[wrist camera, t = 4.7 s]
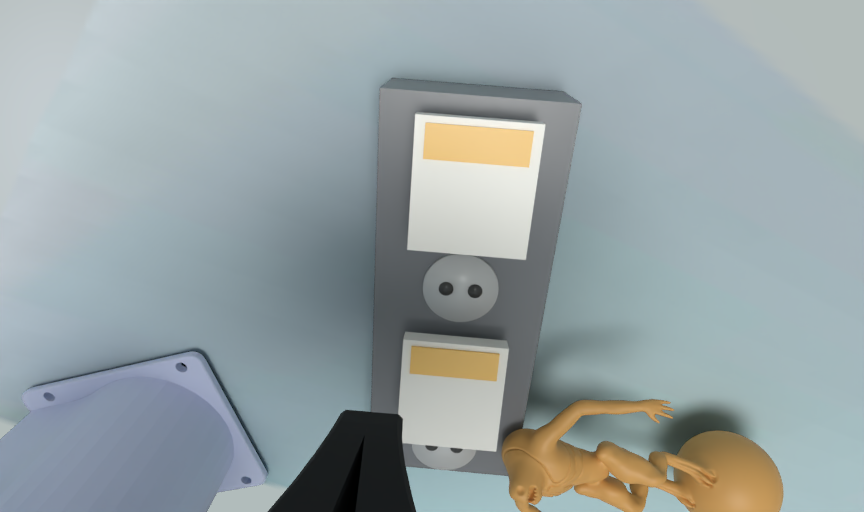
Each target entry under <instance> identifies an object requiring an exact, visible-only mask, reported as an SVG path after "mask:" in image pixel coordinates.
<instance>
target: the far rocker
mask: <svg viewBox="0 0 864 512" xmlns="http://www.w3.org/2000/svg"><path fill="white" fill-rule="evenodd" d="M508 353H509V347H508V343H507V341H506V340H495V339H483V338H472V337H461V336H449V335H438V334H427V333H415V332H405V334H404V339H403V351H402V366H401V380H400V395H399V409H398V414H399V415H400V416H401V417H402V418H403V428H402V443H407V444H418V445H429V446H439V447H450V448H461V449H472V450H483V451H493V452H496V449H497V441H498V433H499V425H500V417H501V409H502V401H503V393H504V385H505V377H506V369H507V361H508Z"/></svg>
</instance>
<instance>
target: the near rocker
mask: <svg viewBox="0 0 864 512" xmlns="http://www.w3.org/2000/svg"><path fill="white" fill-rule="evenodd" d="M545 125H546V124H544V123H543V122H537V121H524V120H512V119H499V118H487V117H474V116H462V115H449V114H437V113H424V112H417V113H416V114H415V127H414V144H413V160H412V177H411V194H410V211H409V227H408V244H407V250H415V251H426V252H438V253H450V254H461V255H473V256H485V257H497V258H508V259H520V260H526V255H527V248H528V241H529V234H530V228H531V221H532V214H533V207H534V200H535V193H536V187H537V180H538V173H539V166H540V159H541V152H542V146H543V139H544V132H545Z"/></svg>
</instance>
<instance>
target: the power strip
mask: <svg viewBox="0 0 864 512" xmlns="http://www.w3.org/2000/svg"><path fill="white" fill-rule="evenodd" d="M581 107H582V104H581V103H580V102H578V101H577V100H576V99H574V98H573V97H571V96H570V95H568V94H567V93H565V92H563V91H550V90H537V89H524V88H512V87H499V86H486V85H474V84H461V83H448V82H436V81H423V80H410V79H398V78H392V79H390V80H389V81H388V82H387V83H385V84H384V85H383V86H381V87H380V97H379V134H378V172H377V209H376V246H375V284H374V321H373V359H372V396H371V412H378V413H390V414H398V409H399V395H400V380H401V366H402V351H403V339H404V334H405V332H415V333H427V334H438V335H449V336H461V337H472V338H483V339H495V340H506V341H507V343H508V347H509V353H508V361H507V369H506V377H505V385H504V393H503V401H502V409H501V417H500V425H499V433H498V441H497V449H496V452H493V451H483V450H472V449H461V448H450V447H439V446H429V445H418V444H407V443H403V452H404V460H405V466H407V467H418V468H428V469H439V470H450V471H460V472H471V473H482V474H493V475H503V476H509V475H508V472H507V470H506V467H505V464H504V462H503V459H502V455H501V452H502V446H503V442H504V440H505V438H506V437H507V436H508V435H509V434H511V433H512V432H514V431H516V430H519V429H522V428H523V423H524V417H525V412H526V406H527V401H528V395H529V390H530V384H531V379H532V374H533V368H534V363H535V357H536V352H537V346H538V341H539V335H540V330H541V325H542V319H543V314H544V308H545V303H546V297H547V292H548V286H549V281H550V276H551V270H552V265H553V259H554V254H555V248H556V243H557V237H558V232H559V226H560V221H561V216H562V210H563V205H564V199H565V194H566V188H567V183H568V177H569V172H570V167H571V161H572V156H573V150H574V145H575V139H576V134H577V128H578V123H579V118H580V112H581ZM417 112H424V113H437V114H449V115H462V116H474V117H487V118H499V119H512V120H524V121H537V122H543V123H544V124H546V125H545V132H544V139H543V146H542V152H541V159H540V166H539V173H538V180H537V187H536V193H535V200H534V207H533V214H532V221H531V228H530V234H529V241H528V248H527V255H526V260H520V259H508V258H497V257H485V256H473V255H461V254H450V253H438V252H426V251H415V250H407V244H408V227H409V211H410V194H411V177H412V160H413V144H414V127H415V114H416V113H417Z"/></svg>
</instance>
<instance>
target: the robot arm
mask: <svg viewBox="0 0 864 512" xmlns="http://www.w3.org/2000/svg"><path fill="white" fill-rule="evenodd" d="M181 363H184V364H185V365H186V366H187V367H185V366H183V365H182V364H181ZM21 399H22V401H23V403H24V404H25V406H26V407H27V408H28V410H29V411H30V413H29V414H28V415H27V416H26V417H24V418H23V419H22V420H21V421H20V422H19V423H18V424H17V425H16V426H14V427H13V428H12V429H11V430H10V431H9V432H8V433H7V434H6V435H4V436H3V437H2V438H1V439H0V512H207V511H208V509H209V507H210V505H211V503H212V501H213V499H214V497H215V495H216V493H217V492H223V491H228V490H234V489H240V488H245V487H251V486H257V485H261V484H263V483H264V482H265V481H266V478H267V475H268V474H267V471H266V469H265V467H264V465H263V463H262V462H261V460H260V458H259V456H258V454H257V452H256V451H255V449H254V447H253V445H252V443H251V441H250V440H249V438H248V436H247V434H246V432H245V431H244V429H243V427H242V425H241V423H240V421H239V420H238V418H237V416H236V414H235V412H234V410H233V409H232V407H231V405H230V403H229V401H228V400H227V398H226V396H225V394H224V392H223V390H222V389H221V387H220V385H219V383H218V381H217V379H216V378H215V376H214V374H213V372H212V370H211V369H210V367H209V365H208V363H207V361H206V359H205V358H204V357H203V355H201V354H200V353H198V352H195V351H192V352H186V353H182V354H177V355H173V356H168V357H164V358H160V359H155V360H151V361H146V362H142V363H138V364H133V365H129V366H124V367H120V368H116V369H111V370H107V371H102V372H98V373H93V374H89V375H85V376H80V377H76V378H71V379H67V380H63V381H58V382H54V383H49V384H45V385H41V386H36V387H32V388H29V389H27V390H26V391H25V392H24V393H23V394H22V396H21ZM402 428H403V418H402V417H401V416H400V415H399V414H390V413H378V412H365V411H353V410H345V411H344V412H342V413H341V414H340V416H339V418H338V419H337V421H336V423H335V424H334V426H333V428H332V429H331V431H330V432H329V434H328V435H327V437H326V438H325V440H324V441H323V443H322V444H321V445H320V447H319V448H318V450H317V451H316V453H315V454H314V455H313V457H312V458H311V459H310V461H309V462H308V463H307V464H306V466H305V467H304V468H303V470H302V471H301V472H300V474H299V475H298V476H297V478H296V479H295V480H294V481H293V483H292V484H291V485H290V486H289V487H288V489H287V490H286V491H285V492H284V493H283V495H282V496H281V497H280V498H279V499H278V500H277V501H276V503H275V504H274V505H273V506H272V507H271V508H270V510H269V511H268V512H416V510H415V506H414V502H413V498H412V494H411V490H410V485H409V480H408V476H407V471H406V466H405V460H404V452H403V443H402ZM246 476H247V477H246ZM248 477H249V478H248Z"/></svg>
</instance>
